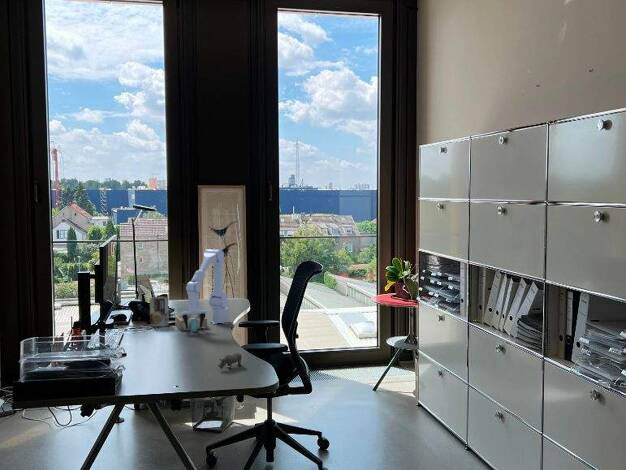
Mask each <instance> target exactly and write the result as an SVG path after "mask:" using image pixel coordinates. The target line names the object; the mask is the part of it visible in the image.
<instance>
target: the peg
mask: <svg viewBox="0 0 626 470" xmlns="http://www.w3.org/2000/svg"><path fill="white" fill-rule="evenodd" d="M189 331H190V332H191V333H197V332H198V329H197V318H191V319H190V330H189ZM196 331H197V332H196Z"/></svg>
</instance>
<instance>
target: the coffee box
mask: <svg viewBox="0 0 626 470" xmlns="http://www.w3.org/2000/svg"><path fill="white" fill-rule="evenodd" d="M169 313H170V312H169V296H152V297H151V298H149V317H150V318H149V319H150V322H149V323H150V325H149V327H166V326H167V327H168V325H169V324H170V323H169V322H170V320H169V319H170V318H169V317H170V316H169Z"/></svg>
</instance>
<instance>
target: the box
mask: <svg viewBox="0 0 626 470" xmlns="http://www.w3.org/2000/svg"><path fill="white" fill-rule="evenodd" d="M187 317H188V329H186V326H185V322H184V320H183V318H182V316H180V314H177V315H175V316H174V318H175V319H174V321H175V326H176V327H177V328H178V330H179V331H180V332H181V331H191V330H190V319H191V318H197V330H202V329H201V328H200V316H199V315H187ZM202 328H204V329H208V318H207V317H206V316H205V318H204V321H203V324H202Z"/></svg>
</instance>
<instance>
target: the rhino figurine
mask: <svg viewBox="0 0 626 470" xmlns="http://www.w3.org/2000/svg"><path fill="white" fill-rule="evenodd" d="M242 359H243V356H242V354H241V353H240V352H234V353H232V354H227V355H225V356H224V357H223V358H219V360H220V361H221V362H220V364H217V366H218V367H219V368H220V369H221V370H223V369H224V368H225V367H226V366H230V367H229V368H231V367H232V364H237V363H238V365H241V364H242ZM238 365H237V366H238ZM241 366H242V365H241ZM229 368H228V369H229ZM232 368H233V367H232Z"/></svg>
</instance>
